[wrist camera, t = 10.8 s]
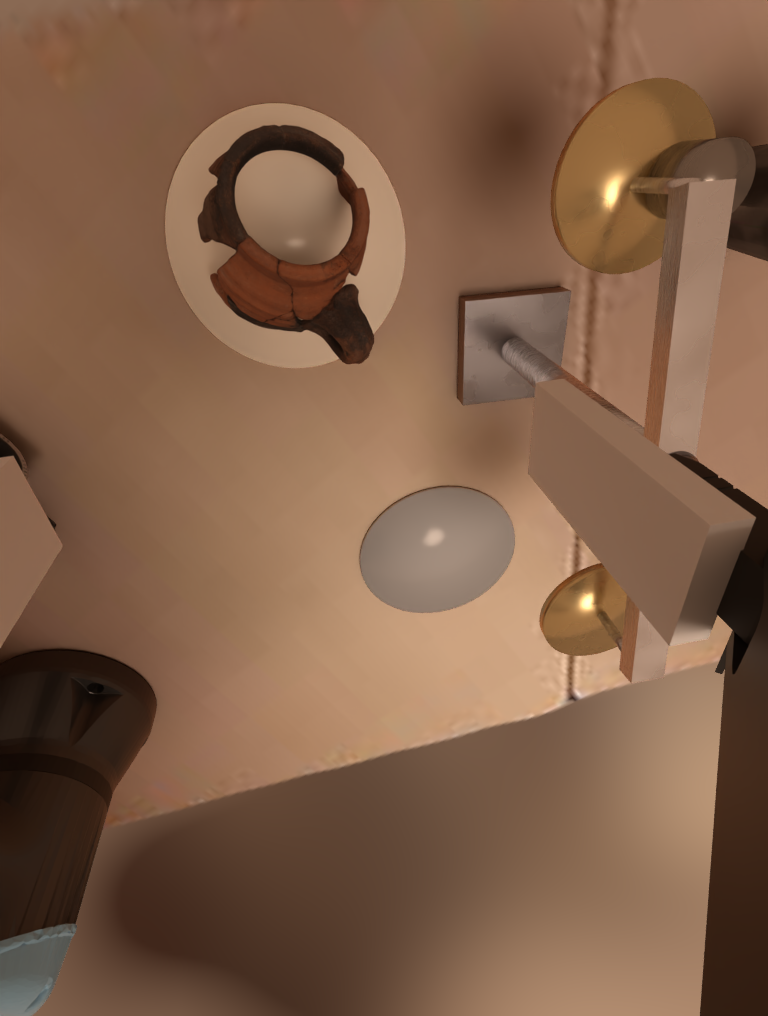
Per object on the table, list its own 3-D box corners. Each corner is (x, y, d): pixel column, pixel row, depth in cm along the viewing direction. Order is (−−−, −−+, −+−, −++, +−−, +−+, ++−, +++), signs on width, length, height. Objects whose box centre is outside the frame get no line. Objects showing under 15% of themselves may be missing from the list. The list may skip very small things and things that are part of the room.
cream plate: (202, 377, 34) (201, 379, 34) (130, 112, 26) (128, 111, 26) (408, 355, 35) (409, 356, 35) (399, 95, 27) (400, 94, 27)
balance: (455, 503, 42) (566, 733, 25) (462, 116, 28) (735, 26, 11) (535, 493, 43) (698, 709, 26) (583, 108, 29) (1027, 9, 11)
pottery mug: (165, 256, 30) (148, 179, 22) (280, 162, 32) (302, 59, 24) (308, 410, 33) (338, 390, 25) (406, 317, 35) (462, 271, 27)
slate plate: (366, 620, 48) (367, 622, 48) (352, 498, 41) (352, 500, 40) (507, 599, 50) (508, 601, 49) (520, 475, 42) (521, 477, 42)
